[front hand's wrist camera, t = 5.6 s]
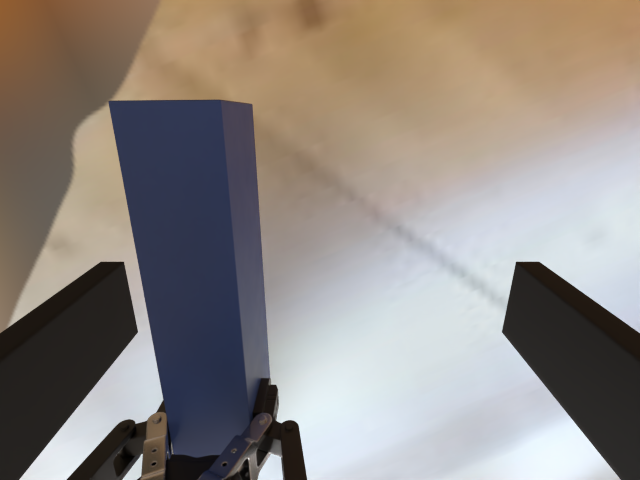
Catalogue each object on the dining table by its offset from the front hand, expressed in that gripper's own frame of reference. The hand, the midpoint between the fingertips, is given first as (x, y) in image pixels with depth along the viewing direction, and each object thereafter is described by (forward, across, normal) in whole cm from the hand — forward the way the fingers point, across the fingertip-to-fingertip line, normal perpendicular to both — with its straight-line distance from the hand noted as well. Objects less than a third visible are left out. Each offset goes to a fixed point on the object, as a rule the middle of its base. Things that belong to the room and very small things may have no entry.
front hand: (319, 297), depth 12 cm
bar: (+15, -7, -6) cm, 18 cm away
